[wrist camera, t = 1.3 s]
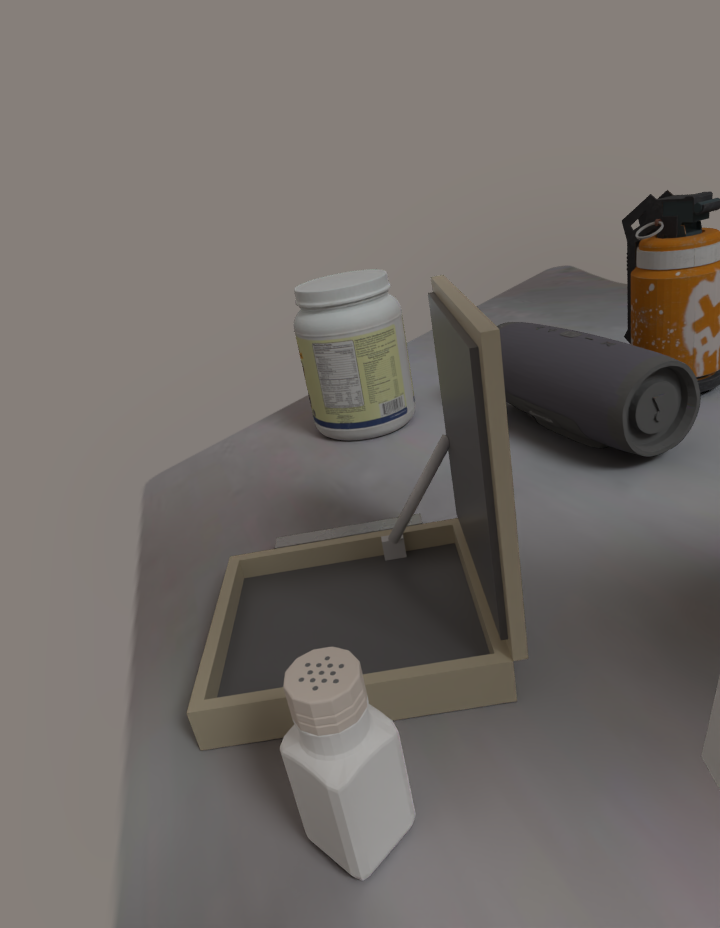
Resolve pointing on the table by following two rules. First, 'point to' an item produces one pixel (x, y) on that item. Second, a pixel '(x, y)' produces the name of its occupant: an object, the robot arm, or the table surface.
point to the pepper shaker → (344, 762)
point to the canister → (676, 282)
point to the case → (389, 577)
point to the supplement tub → (354, 355)
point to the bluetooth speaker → (598, 388)
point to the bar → (342, 532)
